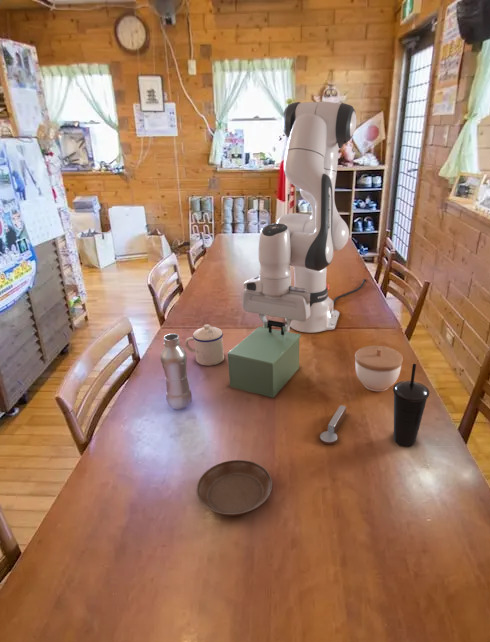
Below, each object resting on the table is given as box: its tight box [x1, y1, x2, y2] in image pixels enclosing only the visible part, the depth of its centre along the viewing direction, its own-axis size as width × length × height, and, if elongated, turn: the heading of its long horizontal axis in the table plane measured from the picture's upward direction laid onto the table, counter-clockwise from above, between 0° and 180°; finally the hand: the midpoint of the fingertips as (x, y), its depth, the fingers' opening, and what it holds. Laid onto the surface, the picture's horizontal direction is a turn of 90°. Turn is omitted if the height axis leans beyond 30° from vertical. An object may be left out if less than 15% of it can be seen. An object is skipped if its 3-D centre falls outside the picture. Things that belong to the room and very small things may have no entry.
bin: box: [227, 338, 300, 399], centre depth 129 cm, size 18×14×10 cm
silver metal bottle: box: [159, 333, 193, 410], centre depth 115 cm, size 6×7×20 cm
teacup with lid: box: [184, 323, 225, 367], centre depth 139 cm, size 12×9×12 cm
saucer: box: [196, 459, 273, 517], centre depth 90 cm, size 15×15×3 cm
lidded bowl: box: [354, 345, 404, 392], centre depth 124 cm, size 13×13×11 cm
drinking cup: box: [392, 363, 430, 448], centre depth 100 cm, size 8×8×20 cm
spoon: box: [319, 404, 347, 446], centre depth 108 cm, size 12×4×3 cm, turn 154°
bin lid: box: [227, 319, 302, 366], centre depth 126 cm, size 19×14×5 cm
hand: (276, 329), depth 132 cm, fingers closed on bin lid, 5 cm apart
